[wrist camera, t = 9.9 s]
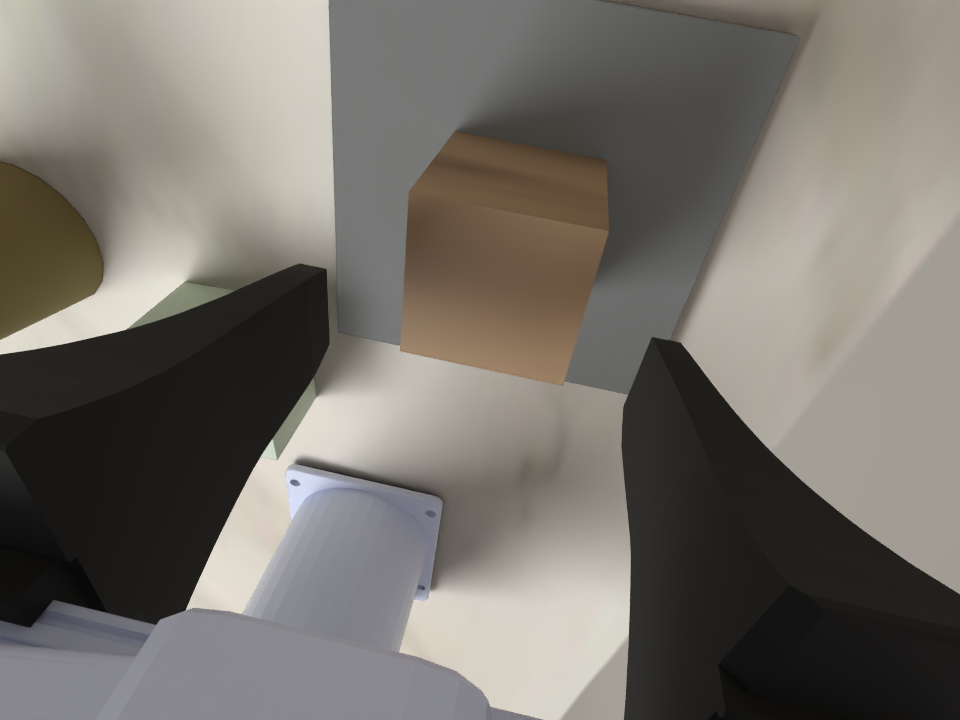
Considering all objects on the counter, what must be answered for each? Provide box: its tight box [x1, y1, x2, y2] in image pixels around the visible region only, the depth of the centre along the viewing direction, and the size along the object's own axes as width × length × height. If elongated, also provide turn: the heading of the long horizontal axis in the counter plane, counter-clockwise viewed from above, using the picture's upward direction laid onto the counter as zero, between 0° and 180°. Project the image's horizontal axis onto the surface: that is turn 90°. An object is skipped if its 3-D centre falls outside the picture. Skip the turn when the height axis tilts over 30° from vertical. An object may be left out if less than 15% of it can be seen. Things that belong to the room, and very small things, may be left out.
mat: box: [329, 0, 800, 394], centre depth 18 cm, size 12×12×1 cm
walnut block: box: [400, 131, 609, 386], centre depth 16 cm, size 4×4×5 cm
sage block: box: [128, 282, 316, 460], centre depth 22 cm, size 5×5×4 cm
